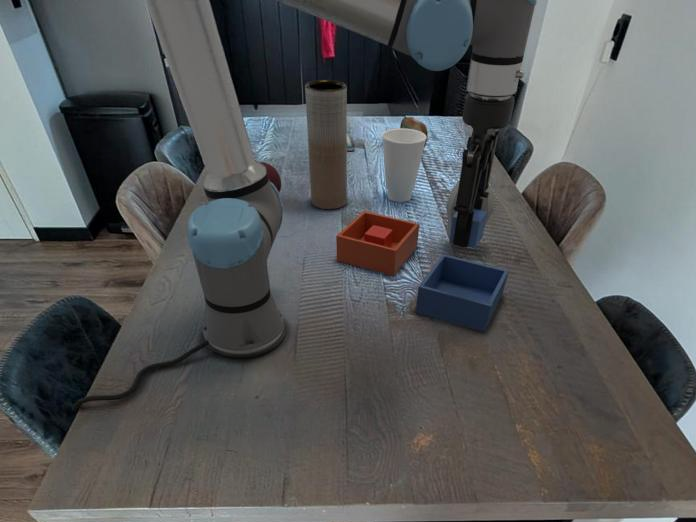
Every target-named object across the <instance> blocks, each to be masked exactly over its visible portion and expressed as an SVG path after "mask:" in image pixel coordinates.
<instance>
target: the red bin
mask: <svg viewBox="0 0 696 522" xmlns="http://www.w3.org/2000/svg"><path fill="white" fill-rule="evenodd" d="M373 225H375V226H380V227H384V228H388V229H392V230H393V234H392V248H390V247H386V246H382V245H378V244H374V243H370V242H366V241H364V235H365V233H366V232H367V231H368V230H369V229H370V228H371V227H372V226H373ZM419 233H420V223H418V222H414V221H409V220H405V219H402V218H401V219H400V218H398V217H397V218H395V217H392V216H388V215H383V214H379V213H376V212H371V211H366V210H363V211H362V212H361V213H360V214H359V215H358V216H357V217H355V218H354V219H353V220H352V221H351V222H350V223H349V224H347V226H345V227H344V228H343V229H342V230H341V231H340V232H339V233H338V234H337V235H336V236H335V239H336V240H335V241H336V242H335V243H336V244H335V245H336V261H337V262H341V263H343V264H348V265H352V266H355V267H359V268H363V269H367V270H371V271H374V272H378V273H382V274H386V275H390V276H393V277H394V276H395V275H396V274H397V273H398V271H399V270H401V268H402V267H403V266H404V264H405V263H406V262H407V260H408V259H410V257H411V256H412V254H413V253H414V252H415V251H416V250H417V248H418V243H419Z"/></svg>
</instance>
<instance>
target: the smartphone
mask: <svg viewBox="0 0 696 522" xmlns="http://www.w3.org/2000/svg"><path fill="white" fill-rule="evenodd" d="M351 140H352V139H351V136H350V134H348V133H347V152H352V151H353V150H354V148H353V144H352V141H351Z"/></svg>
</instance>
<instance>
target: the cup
mask: <svg viewBox="0 0 696 522" xmlns="http://www.w3.org/2000/svg"><path fill="white" fill-rule="evenodd" d="M381 138H382V139H381V140H382V155H383V163H384V164H383V167H384V182H385V188H386V194H387V199H388V200H390V201H393V202H395V203H404V202H409V201H411V200H412V195H413V192H414V190H415V187H416V183H417V179H418V174H419V170H420V166H421V162H422V158H423V154H424V149H425V148H424V145H425V141H426V138H427V139H428V136H427V137H426V135H425V134H424V133H422V132H420V131H417V130H413V129H403V128H400V127H399V128H391V129H387V130H385V131H383V132H382V133H381Z"/></svg>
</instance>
